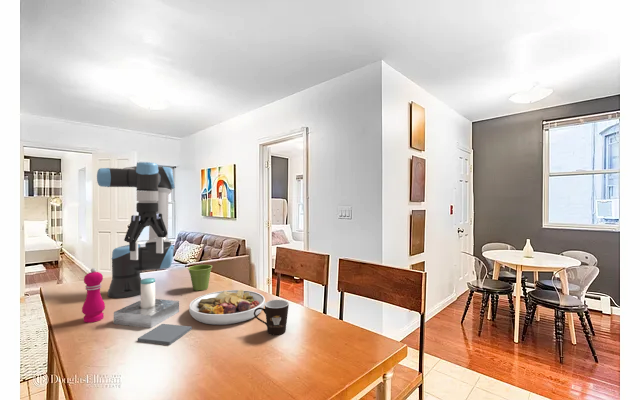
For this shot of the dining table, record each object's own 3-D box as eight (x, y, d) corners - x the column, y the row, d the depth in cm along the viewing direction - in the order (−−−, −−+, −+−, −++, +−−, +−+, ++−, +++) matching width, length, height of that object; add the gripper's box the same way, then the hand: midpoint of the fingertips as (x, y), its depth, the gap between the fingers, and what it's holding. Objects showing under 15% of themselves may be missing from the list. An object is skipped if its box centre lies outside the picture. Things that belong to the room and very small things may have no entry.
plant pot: (195, 285, 168) (195, 264, 168) (216, 286, 166) (216, 265, 166) (182, 291, 156) (182, 269, 156) (205, 293, 154) (205, 270, 154)
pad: (162, 326, 116) (162, 323, 116) (191, 329, 113) (191, 326, 113) (137, 341, 104) (137, 338, 104) (169, 344, 102) (169, 341, 102)
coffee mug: (292, 328, 115) (292, 301, 115) (282, 338, 107) (282, 309, 107) (264, 323, 119) (264, 297, 119) (252, 333, 111) (252, 305, 110)
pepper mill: (93, 324, 117) (92, 270, 117) (77, 322, 119) (76, 269, 118) (109, 316, 124) (109, 266, 124) (94, 315, 126) (94, 265, 125)
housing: (145, 308, 133) (145, 298, 133) (179, 311, 130) (179, 300, 130) (113, 324, 117) (113, 312, 117) (151, 327, 114) (151, 315, 114)
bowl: (176, 313, 129) (176, 294, 129) (239, 296, 151) (239, 279, 151) (212, 336, 109) (212, 313, 109) (279, 312, 131) (279, 293, 131)
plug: (147, 314, 127) (147, 277, 126) (158, 315, 126) (158, 278, 125) (137, 319, 122) (137, 281, 121) (149, 320, 121) (148, 281, 120)
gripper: (161, 201, 136) (161, 250, 136) (112, 202, 111) (112, 262, 112) (176, 201, 134) (176, 251, 135) (130, 203, 110) (130, 263, 110)
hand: (147, 256), depth 123 cm, fingers open, 13 cm apart
